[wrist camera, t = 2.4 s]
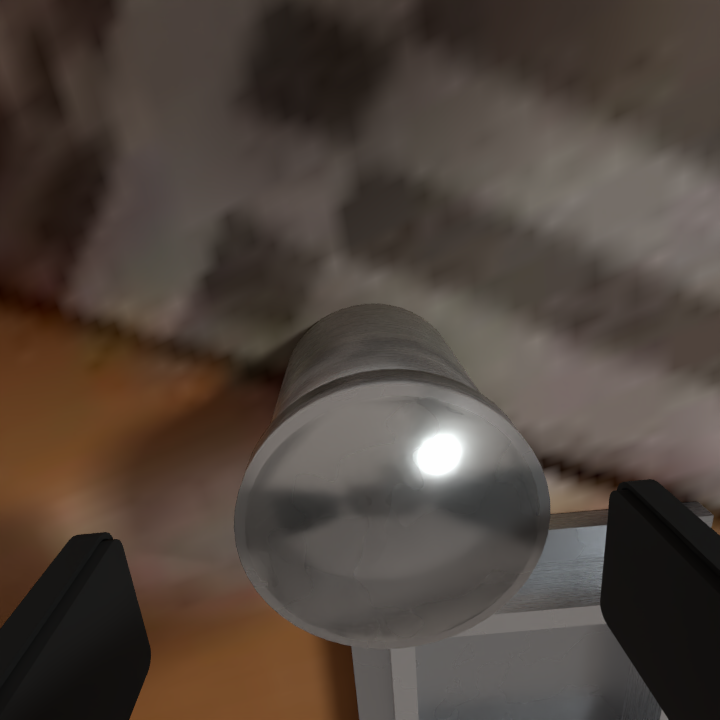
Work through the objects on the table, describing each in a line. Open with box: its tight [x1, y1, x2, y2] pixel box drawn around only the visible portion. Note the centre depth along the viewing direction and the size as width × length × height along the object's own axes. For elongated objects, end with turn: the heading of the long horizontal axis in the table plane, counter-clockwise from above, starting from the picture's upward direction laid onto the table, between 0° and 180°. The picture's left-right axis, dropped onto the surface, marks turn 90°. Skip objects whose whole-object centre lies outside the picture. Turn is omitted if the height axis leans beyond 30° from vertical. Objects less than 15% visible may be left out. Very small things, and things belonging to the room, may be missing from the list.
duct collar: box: [351, 502, 713, 720], centre depth 19 cm, size 13×13×3 cm
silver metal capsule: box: [234, 304, 550, 649], centre depth 13 cm, size 6×6×7 cm
